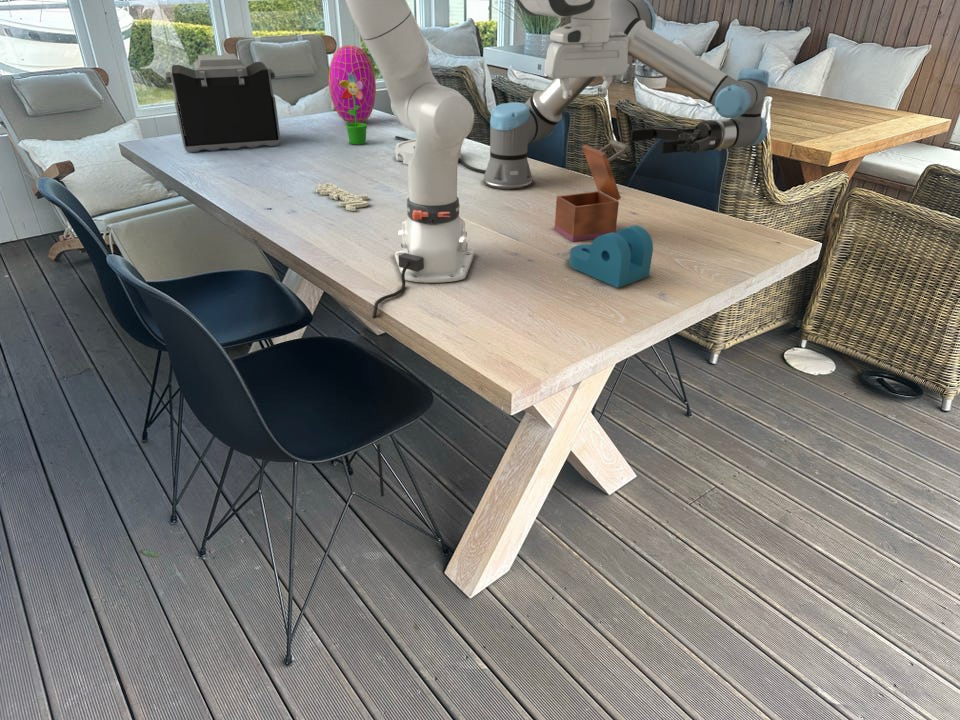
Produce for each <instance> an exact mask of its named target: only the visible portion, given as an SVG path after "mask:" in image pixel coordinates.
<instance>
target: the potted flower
mask: <svg viewBox="0 0 960 720" xmlns="http://www.w3.org/2000/svg"><path fill="white" fill-rule="evenodd" d="M348 78H349V81H346V80H342V81H341V82H340V83H339V84H340V85H341V86H342V87H343V88H346V89H347V90H345V91H344V93H343V94H342V97H341V99H348V98H350V97H351V96H352V95H353V100H354V110H349V111H348V112H349V114H351V115H355V123H349V122H348V123H347V124H346V125H345V128H346V131H347V136H348V141H349V144H352V145H363V144H366V143H367V129H368V124H367V123H366V122H365V123H364V122H361V123H357V116H356V110H358V109H359V106H356V103H355V95H356V97H357V98H358V99H359V100H362V98H363V93H362V92H361V91H360V90H361V89H363V84H362V82H361V81H358V82H357V83H356V78H355V76H354V75H352V74H350V73H348Z"/></svg>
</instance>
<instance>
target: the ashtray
mask: <svg viewBox="0 0 960 720" xmlns="http://www.w3.org/2000/svg"><path fill="white" fill-rule="evenodd" d="M415 145H416V138H414V139H411V140H407V141H404V140H402V141H399V142H398V143H396V144H395V146H394V150H395V151H394V152H395V153H394V154H395V160H396V161H397V162H403V164H404V165H408V163H409V161H410V160H411V159H412V157H413V154H414V150H415ZM459 158H460V159H462V149H461V150H460V154H459Z"/></svg>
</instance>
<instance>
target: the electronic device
mask: <svg viewBox="0 0 960 720" xmlns="http://www.w3.org/2000/svg"><path fill="white" fill-rule="evenodd" d="M197 58H198V59H197V60H195V61H193V67H194V69H193V68H189V67H187V66H184V65H181V64H171V65H170V71H167V72H165V74H164V75H165V82H166V84H171V85H172V90H173V94H174V106H175V107H174V108H175V111H176V112H175V113H176V116H177V121H178V126H179V131H180V136H181V141H182V146H183V149H184V150H185V151H186V152H187V153H188V152H189V153H199V152H200V151H202V150H203V151H204V150H207V151H210V152H214V151H219V150H220V149H228V150H239V149H240V148H245V147H247V148H250V149H255V148H258V147H260V146H267V147H277V146H279V145H281V141H282V139H281V131H280V125H279V117H278V109H277V102H276V97H275V95H274V89H273V81H272V80H273V79H276V73H275V71H274V70H273V69H272V68H270V67H268V66H266V64H265V63H264V62H263V61H255V62H253V63H251V64H249V65H247V66H246V65H245V63H244V62H243V60H241V59H239V58H238V57H237V55H236V54H235V53H222V54H218V55H215V54H213V55H212V54H198V57H197Z"/></svg>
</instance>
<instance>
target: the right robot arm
mask: <svg viewBox="0 0 960 720" xmlns="http://www.w3.org/2000/svg"><path fill="white" fill-rule="evenodd" d="M610 11H611V25H610V32H624V34H626V35H627V37H628V40H629V41H628V48H627V50H628V57H629V56H630V57H632V58H633V59H635V60H637V61H639V62H640V63H642V64H644V65H645V66H646V67H648V68H650V69H652V70H653V71H655V72H657V73H658V74H660V75H662V76H663V77H664V78H667V79H668V80H670V81H671V82H674V83H675V84H677V85H678V86H680V87H681V88H683V89H685V90H687V91H689V92H690V93H692V94H693V95H695V96H697V97H698V98H700V99H702V100H703V101H705V102H706V103H708V104H709V105H711V106H713V107H714V108H715V110H716V112H717V114H718V115H719V116H720V117H722V118H720V119H713V120H702V121H700V122H698V123H697V124H696V126H695V127H686V126H683V125H682V126H661V125H660V126H657V125H655V126H654V125H653V126H652V125H649V126H648V128H640V129H639V128H638V129H631V130H630V137H629V141H630V142H639V141H650V142H651V141H652V140H653V139H658V140H663V141H662V142H661V148H660V154H670V153H681V152H686V153H689V152H691V153H693V154H697V153H699V152H707V151H714V150H717V151H718V152H721V151H722V149H733V148H748V147H752V146H757V145H759V144H761V143H762V142H763V141H764V140H765V138H766V137H767V135H768V131H769V130H768V126H767V125H768V122H767V121H766V119H765V118H764V117H762V112H763V108H764V104H765V98H766V95H767V90H768V87H769V78H770V73H769V71H768V70H766V69H760V68H743V69H742V70H740V71H739V74H738V77H737V79H735V78H733V77H732V76H729V75H728V74H727V73H726V72H723V71H722V70H720V69H718V68H717V67H715V66H713V65H711V64H710V63H708V62H706V61H705V60H703V59H701V58H700V57H698V56H696V55H694V54H692V53H691V52H690V51H688V50H686V49H684V48H682V47H681V46H680V45H678V44H676V43H674V42H672V41H671V40H669V39H667V38H666V37H664V36H662V34H661V35H660V34H659V33H657V32H655V31H654V30H655V28H656V17H657V16H656V12H655V9H654V7H653V5H652V4H651V2H649V0H612V2H611V7H610ZM623 37H625V36H623ZM596 78H597V77H580V78H569V83H566V84H567V86H568V89H569V90H571V91H572V98H571V99H564V98H563V90H562V87H561V85H560V83H559V79H552V81H551V82H550V83H549V84H548V85H547V86H546V87H545V88H544V89H543V91H542V90H536V91H535V92H534V93H533V94H532V95H531V96H530V97H529V98H528V99H527V100H526V101H525V103H523V102H517V101H513V102H511V101H510V102H507V103H505V102H503V103H500V104H497V105H496V106H495V107H493V108H492V110H491V112H490V120H489V124H490V125H489V126H490V129H489V131H490V135H489V136H490V138H489V139H490V141H489V160H488V163H487V166H486V169H481V168H477V167H474V166H471V165H469V164H468V163H466V161H464V160H463V159H462V158H461V159H460V158H459V159H458V163H461V164H462V165H463V166H464V167H465V168H467V169H469V170H471V171H474V172H478V173H481V174H484V176H483V184H484V185H485V186H487V187H489V188H493V189H497V190H510V191H511V190H521V189H525V188H526V189H527V188H529V187H530V186H532V184H533V175H532V172H531V168H530V164H529V160H528V153H529V152H528V151H529V150H528V149H529V147H528V146H529V144H532V143H536V142H537V141H543V140H545V139H546V138H548V137H550V136H551V135H552V134H553V132H555V130H556V129H557V127H558V123H560V122H561V120H562V118H563V111H564V110H566V108H567V107H568V106H569V105H571V103H572V102H574V100H576V99H577V98H578V97H579V95H581V93H582V92H583V91H584V90H585V89H586V88H587V87H589V85H590V84H591V83H592V82H593V81H594V80H595V79H596ZM394 138H395V139H396V140H401V141H407V140H412V139H410V138H406V137H401V136H398V135H395V136H394ZM664 140H665V141H664Z"/></svg>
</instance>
